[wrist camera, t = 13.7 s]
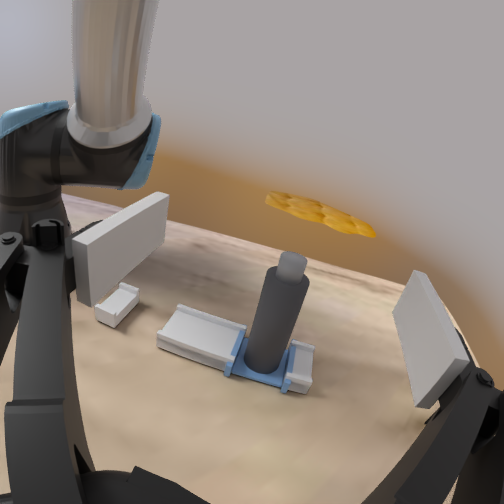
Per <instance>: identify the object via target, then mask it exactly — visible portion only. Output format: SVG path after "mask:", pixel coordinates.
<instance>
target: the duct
mask: <svg viewBox="0 0 504 504" xmlns="http://www.w3.org/2000/svg"><path fill="white" fill-rule="evenodd" d="M138 302H139V289H138V288H136V287H133V286H131V285H128V284H126V283H123V282H121V283H119V288H118V289H117V290H116V291H115V292H114V293H113V294H112V295H111V296H109V297H108V298H107V299H106V300H105V301H104V302H103V303H102V304H101V305H100V304H98V303H97V304H96V305H95V306H94V307H95V317H96V320H98V321H100V322H102V323H105V324H107V325H109V326H111V327H113V328H115V327H116V326H117V325H118V324H119V323H120V322H121V320H122V319H123V318H124V317H125V316H126V315H127V314H128V313H129V312H130V311H131V310H132V309H133V308H134V307H135V305H136V304H137V303H138ZM246 329H247V325H244V324H243V325H242V324H239V323H236V322H232V321H229V320H226V319H223V318H220V317H217V316H214V315H211V314H208V313H205V312H202V311H199V310H196V309H193V308H190V307H188V306H185V305H182V304H178V305H177V310H176V311H175V313H174V314H173V316H172V317H171V318H170V320H169V321H168V322H167V324H166V325H165V326H164V328H163V329H162V330H159V331H158V332H157V340H156V346H157V347H160V348H162V349H165V350H167V351H170V352H172V353H175V354H178V355H180V356H183V357H186V358H188V359H191V360H194V361H197V362H199V363H202V364H205V365H208V366H211V367H214V368H217V369H220V370H223V371H224V375H225V376H228V377H229V376H230V373H233V374H236V375H239V376H243V377H246V378H249V379H252V380H256V381H259V382H263V383H266V384H270V385H273V386H277V387H281V391H280V392H282V393H286V392H287V390H291V391H295V392H299V393H303V394H306V393H307V391H308V390H309V388H310V386H311V384H312V381H313V378H311V374H312V362H313V352H314V350H315V346H314V345H310V344H307V343H303V342H299V341H297V340H294V339H292V341H291V343H290V346H289V348H288V350H286V349H285V352H284V354H283V357H282V359H281V362H280V364H279V367H278V369H277V370H276V371H274V372H272V373H269V374H260V373H256V372H254V371H252V370H251V369H249V368H248V367H247V366H246V364H245V362H244V354H245V350H246V347H247V343H248V340H249V338H245V337H244V336H245V333H246ZM243 339H244V340H243ZM241 344H242V345H241ZM240 347H241V348H240ZM239 349H240V350H239ZM238 352H239V353H238ZM237 355H238V356H237ZM236 357H237V358H236ZM235 360H236V361H235ZM234 363H235V364H234ZM285 364H286V365H285ZM233 365H234V366H233ZM232 368H233V369H232ZM231 371H232V372H231Z"/></svg>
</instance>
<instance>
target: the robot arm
mask: <svg viewBox="0 0 504 504" xmlns="http://www.w3.org/2000/svg"><path fill="white" fill-rule="evenodd" d="M158 3H159V0H72V63H73V79H74V92H75V103H74V104H73V106H72V107H71V109H69V110H68V108H69V105H68V102H67V101H66V100H61V101H53V102H46V103H40V104H34V105H29V106H24V107H19V108H15V109H12V110H8V111H6V112H5V113H4V114H3V115H2V116H1V118H0V365H1V363H2V360H3V357H4V354H5V352H6V349H7V347H8V344H9V342H10V339H11V337H12V334H13V332H14V329H15V327H16V325H17V323H18V320H19V324H18V331H17V340H16V351H15V364H14V385H13V400H12V402H7V403H6V405H5V412H4V423H5V445H6V457H7V467H8V475H9V482H10V489H11V493H7V494H1V495H0V504H210V503H208V502H207V501H205V500H203V499H201V498H200V497H198V496H196V495H195V494H193V493H191V492H190V491H188V490H186V489H185V488H183V487H182V486H180V485H178V484H177V483H175V482H173V481H170V480H168V479H165V478H163V477H160V476H158V475H155V474H153V473H151V472H148V471H146V470H144V469H142V468H139V467H137V466H135V467H134V469H133V471H132V473H129V472H124V471H115V470H103V471H96V470H95V467H94V464H93V461H92V458H91V455H90V452H89V449H88V446H87V441H86V437H85V432H84V427H83V422H82V416H81V410H80V404H79V398H78V391H77V384H76V375H75V366H74V356H73V343H72V325H71V298H70V293H71V292H72V291H74V290H75V289H76V294H77V301H79V302H81V303H83V304H85V305H87V306H89V307H91V308H92V307H93V306H94V305H95V304H96V303H97V302H98V301H99V300H100V299H101V298H102V297H103V296H104V295H105V294H107V293H108V292H109V291H110V290H111V289H112V288H113V287H114V286H115V285H116V284H117V283H118V282H120V281H121V280H122V279H123V278H124V277H125V276H126V275H127V274H128V273H129V272H131V271H132V270H133V269H134V268H135V267H136V266H137V265H138V264H139V263H141V262H142V261H143V260H144V259H145V258H146V257H147V256H149V255H150V254H151V253H152V252H153V251H154V250H155V249H157V248H158V247H159V246H160V245H161V244H162V243H164V237H165V228H166V220H167V212H168V203H169V197H170V195H168V194H165V193H161V192H155V193H153V194H151V195H149V196H147V197H146V198H144V199H142V200H140V201H138V202H136V203H134V204H132V205H130V206H129V207H127V208H125V209H123V210H121V211H119V212H117V213H116V214H114V215H112V216H110V217H108V218H107V219H105V220H100V221H96V222H93V223H91V224H89V225H87V226H86V227H85V228H82V229H80V230H79V232H78V231H77V232H75V233H73V234H72V235H71V225H70V222H69V220H68V218H67V214H66V210H65V207H64V204H63V201H62V197H61V185H69V186H87V187H88V186H89V187H101V188H112V189H117V190H123V189H139V188H141V187H143V185H145V183H146V181H147V179H148V176H149V173H150V170H151V166H152V162H153V156H154V154H155V150H156V147H157V142H158V138H159V132H160V126H161V118H160V116H159V115H156V114H154V113H152V110H151V105H150V103H149V101H148V100H147V98H146V97H145V96H144V95H143V88H144V81H145V73H146V66H147V60H148V54H149V48H150V42H151V37H152V32H153V26H154V22H155V17H156V12H157V8H158ZM392 314H393V317H394V321H395V324H396V328H397V331H398V335H399V339H400V343H401V347H402V351H403V355H404V359H405V363H406V367H407V371H408V376H409V380H410V385H411V390H412V395H413V400H414V405H415V407H418V408H425V409H430V408H431V407H432V406H433V405H434V404H435V402H436V401H437V400H438V399H439V403H440V407H439V408H438V409H437V411H436V412H435V413H434V414H433V415H432V416H431V417H430V418H429V419H428V420H427V421H426V422H425V423H424V424H427V425H426V426H425V428H424V429H423V430H422V432H421V433H420V435H419V436H418V437H417V439H416V440H415V442H414V443H413V444H412V446H411V447H410V448H409V449H408V451H407V452H406V453H405V455H404V456H403V457H402V458H401V460H400V461H399V462H398V463H397V465H396V466H395V467H394V468H393V469H392V471H391V472H390V473H389V474H388V475H387V476H386V478H385V479H384V480H383V481H382V482H381V483H380V484H379V485H378V487H377V488H376V489H375V490H374V491H373V492H372V493H371V494H370V495H369V496H368V497H367V498H366V499H365V500H364V501H363V502H362V503H361V504H443V502H444V500H445V499H446V497H447V495H448V494H449V492H450V490H451V488H452V487H453V485H454V483H455V481H456V479H457V477H458V475H459V477H458V481H457V484H456V488H455V492H454V495H453V498H452V502H451V504H504V390H503V391H500V390H498V389H496V388H494V382H493V379H492V378H491V376H490V375H489V374H488V373H487V372H486V371H485V370H483V369H481V368H478V367H476V366H475V363H474V361H473V359H472V357H471V354H470V352H469V350H468V348H467V346H466V344H465V342H464V339H463V337H462V335H461V334H460V333H459V332H458V330H457V329H456V328H455V327H454V325H453V323H452V321H451V319H450V317H449V315H448V313H447V312H446V310H445V308H444V306H443V304H442V302H441V300H440V298H439V296H438V294H437V293H436V291H435V289H434V287H433V285H432V284H431V282H430V280H429V279H428V277H427V275H426V274H425V273H422V272H419V271H417V270H414V271H413V273H412V275H411V277H410V279H409V281H408V283H407V285H406V287H405V289H404V291H403V293H402V295H401V297H400V298H399V300H398V302H397V304H396V306H395V308H394V310H393V311H392Z"/></svg>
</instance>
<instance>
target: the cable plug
mask: <svg viewBox="0 0 504 504" xmlns="http://www.w3.org/2000/svg"><path fill="white" fill-rule="evenodd" d="M306 265H307V259H306V258H305V257H304V256H302V255H300V254H298V253H295V252H289V251H287V252H283V253H282V254H281V256H280V260H279V264H278V266H274V267H271V268H269V269H268V271H267V274H266V277H265V281H264V285H263V289H262V292H261V296H260V300H259V303H258V307H257V311H256V314H255V318H254V322H253V325H252V329H251V333H250V336H249V340H248V343H247V347H246V350H245V354H244V362H245V364H246V366H247V367H248V368H249V369H251V370H252V371H254V372H256V373H260V374H269V373H272V372H274V371H276V370H277V369H278V367H279V364H280V362H281V359H282V357H283V354H284V352H285V349H286V346H287V344H288V341H289V339H290V336H291V333H292V331H293V328H294V325H295V323H296V320H297V317H298V315H299V312H300V309H301V306H302V304H303V301H304V298H305V295H306V292H307V290H308V287H309V283H310V282H309V279H308V278H307V276H306V275H304V271H305V268H306Z"/></svg>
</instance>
